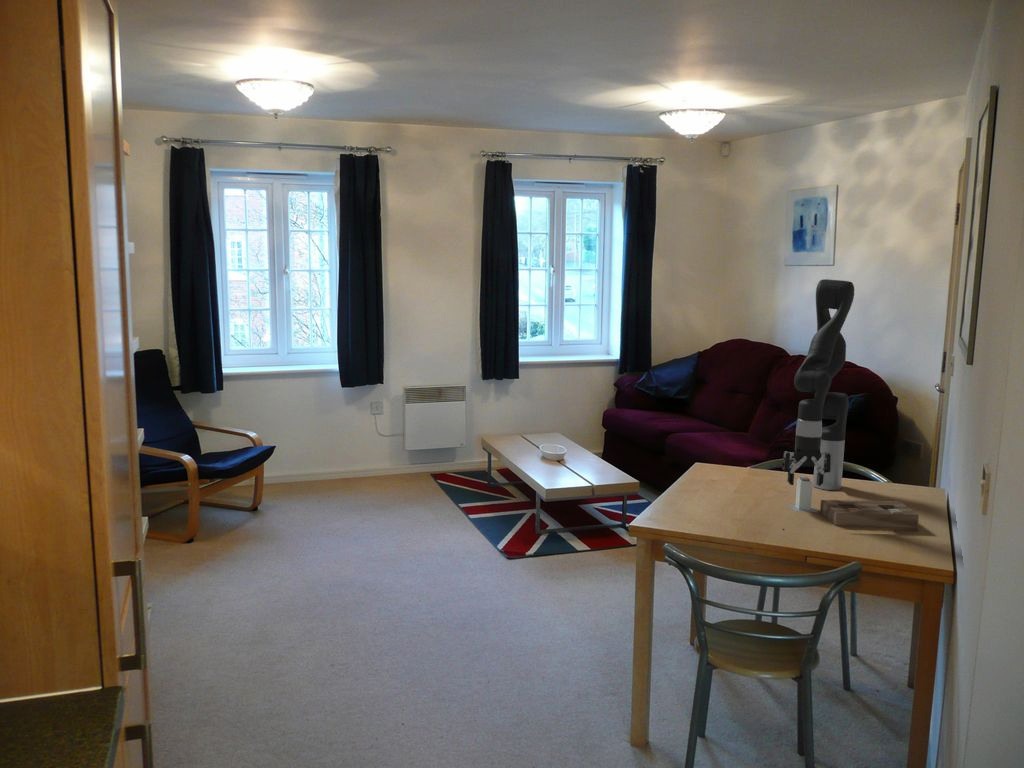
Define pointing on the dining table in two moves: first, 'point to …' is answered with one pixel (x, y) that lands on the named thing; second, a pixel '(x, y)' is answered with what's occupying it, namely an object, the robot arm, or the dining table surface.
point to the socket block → (870, 514)
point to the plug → (804, 493)
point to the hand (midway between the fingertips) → (804, 484)
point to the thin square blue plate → (802, 510)
